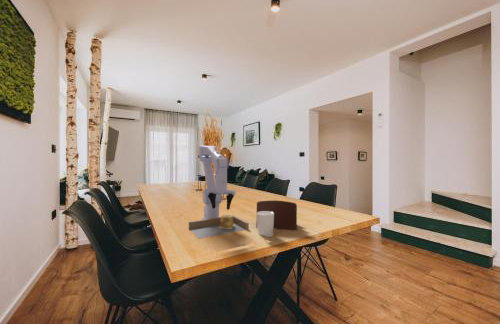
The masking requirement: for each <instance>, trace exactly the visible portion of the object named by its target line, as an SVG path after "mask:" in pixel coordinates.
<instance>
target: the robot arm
mask: <svg viewBox="0 0 500 324" xmlns="http://www.w3.org/2000/svg"><path fill="white" fill-rule="evenodd" d="M198 158H199V161H200V162H201V163H202V165H203V170H204V178H205V185H206V187H205V188H204V190H203V191H202V203H203V204H204V205H205V206H204V209H203V211H204V212H203V214H204V216H203V217H202V220H205V219H212V218H219V217H220V205H221V203H222V201H223V195H226V196H225V198H226V210H227V211H229V210H230V209H231V203H232V201H233V199H234V196H235V195H236V194H237V193H236V190H232V189H231V190H230V189H228V168H229V167H230V166H229V165H230V160H229V158H228V157H226V156H225V157H224V156H223V155H222V154H221V153H220V151H218V148H217V146H216V145H199V146H198ZM212 163H213V165H212ZM213 167H214V170H213ZM214 173H215V176H214Z"/></svg>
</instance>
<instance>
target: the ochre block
mask: <svg viewBox="0 0 500 324" xmlns="http://www.w3.org/2000/svg"><path fill="white" fill-rule="evenodd" d="M219 217H220V228H231V227H232V226H233V214H223V215H222V216H219Z"/></svg>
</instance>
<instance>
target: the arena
mask: <svg viewBox="0 0 500 324" xmlns="http://www.w3.org/2000/svg"><path fill="white" fill-rule="evenodd" d="M232 215H233V214H232ZM220 217H221V216H219V218H212V219H205V220H204V219H198V220H192V221H191V220H190V221H188V229H189V230H190V231H191V233H193V234H194V235H195V236H196V237H197V238H198V239H204V238H209V237H211V238H212V237H216V236H220V235H221V236H222V235H227V234H232V233H236V232H243V231H248V230H249V228H250V227H249V222H247V221H245V220H243V219H241V218H240V217H237V216H236V215H233V226H232V227H231V228H220Z"/></svg>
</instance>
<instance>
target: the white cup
mask: <svg viewBox="0 0 500 324" xmlns="http://www.w3.org/2000/svg"><path fill="white" fill-rule="evenodd" d="M256 221H257V222H256V223H257V227H256V229H257V234H258V235H260V236H263V237H264V236H266V237H267V238H272V237H273V236H274V229H273V226H274V213H273V212H270V211H260V212H257V211H256Z"/></svg>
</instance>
